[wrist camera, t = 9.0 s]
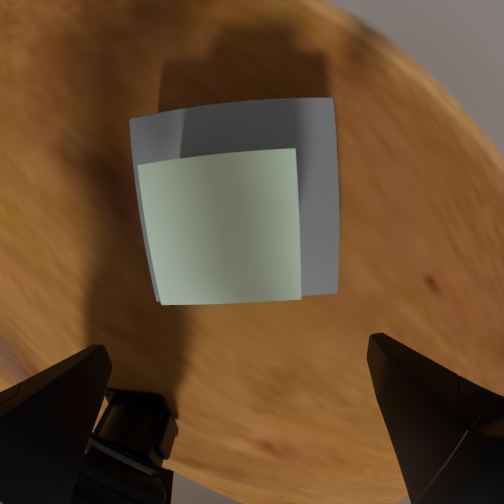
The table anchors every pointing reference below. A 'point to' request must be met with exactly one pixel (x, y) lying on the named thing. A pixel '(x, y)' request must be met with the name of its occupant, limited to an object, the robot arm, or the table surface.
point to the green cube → (224, 227)
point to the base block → (253, 139)
